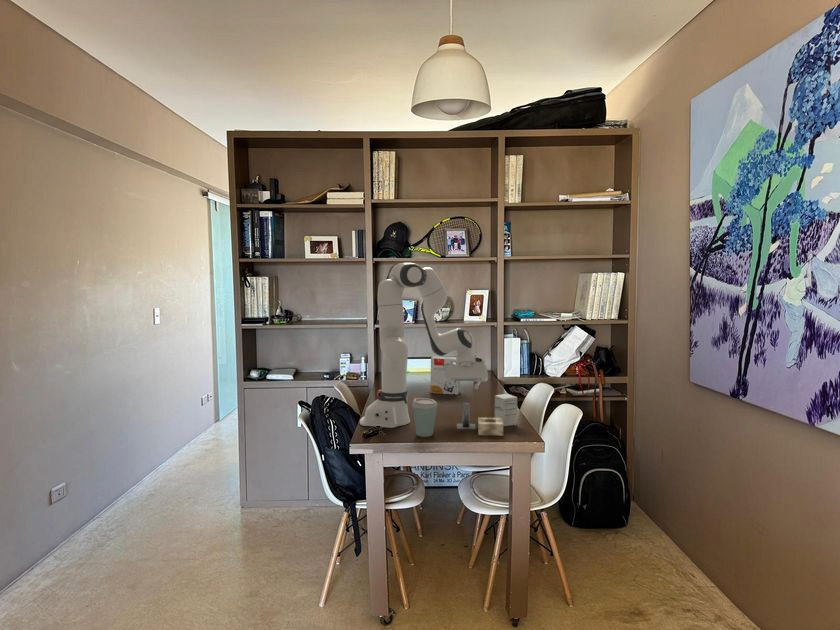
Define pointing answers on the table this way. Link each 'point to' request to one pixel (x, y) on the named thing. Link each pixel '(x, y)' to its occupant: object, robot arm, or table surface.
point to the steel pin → (466, 414)
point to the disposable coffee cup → (424, 416)
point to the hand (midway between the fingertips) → (466, 388)
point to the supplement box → (506, 409)
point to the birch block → (490, 426)
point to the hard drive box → (442, 376)
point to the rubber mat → (460, 426)
